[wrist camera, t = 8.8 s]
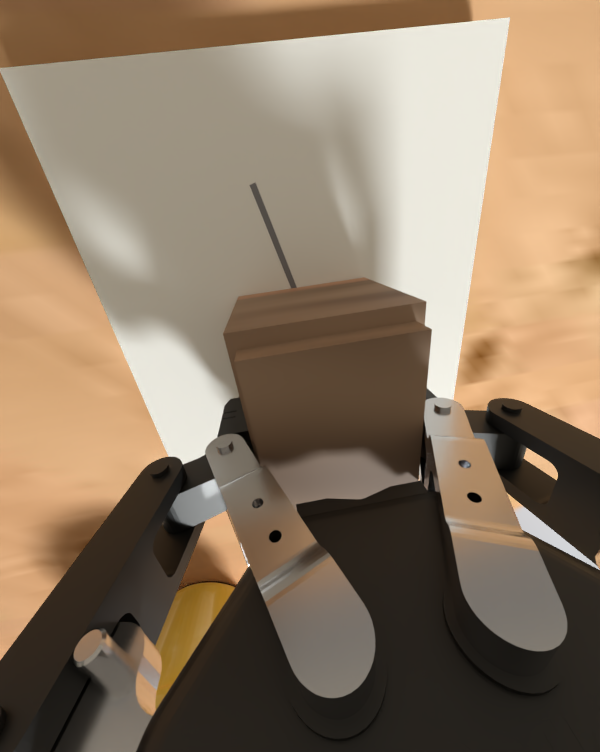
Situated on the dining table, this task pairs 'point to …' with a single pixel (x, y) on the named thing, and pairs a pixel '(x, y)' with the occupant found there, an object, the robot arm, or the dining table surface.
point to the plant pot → (187, 628)
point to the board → (266, 188)
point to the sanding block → (332, 385)
